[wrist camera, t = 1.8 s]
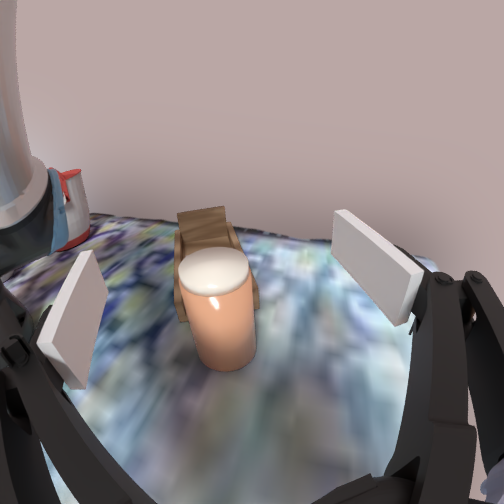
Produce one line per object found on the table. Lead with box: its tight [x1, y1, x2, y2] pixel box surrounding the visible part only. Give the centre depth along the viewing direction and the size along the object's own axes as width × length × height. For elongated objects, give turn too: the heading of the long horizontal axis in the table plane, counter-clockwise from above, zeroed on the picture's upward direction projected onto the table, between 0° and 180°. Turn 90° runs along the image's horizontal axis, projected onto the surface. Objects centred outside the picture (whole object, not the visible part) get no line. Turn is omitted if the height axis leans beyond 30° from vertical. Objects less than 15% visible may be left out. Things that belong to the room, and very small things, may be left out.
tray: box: [174, 206, 259, 322], centre depth 45 cm, size 22×11×7 cm, turn 13°
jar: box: [178, 247, 256, 372], centre depth 29 cm, size 7×7×12 cm
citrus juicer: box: [49, 168, 90, 252], centre depth 56 cm, size 16×17×20 cm
